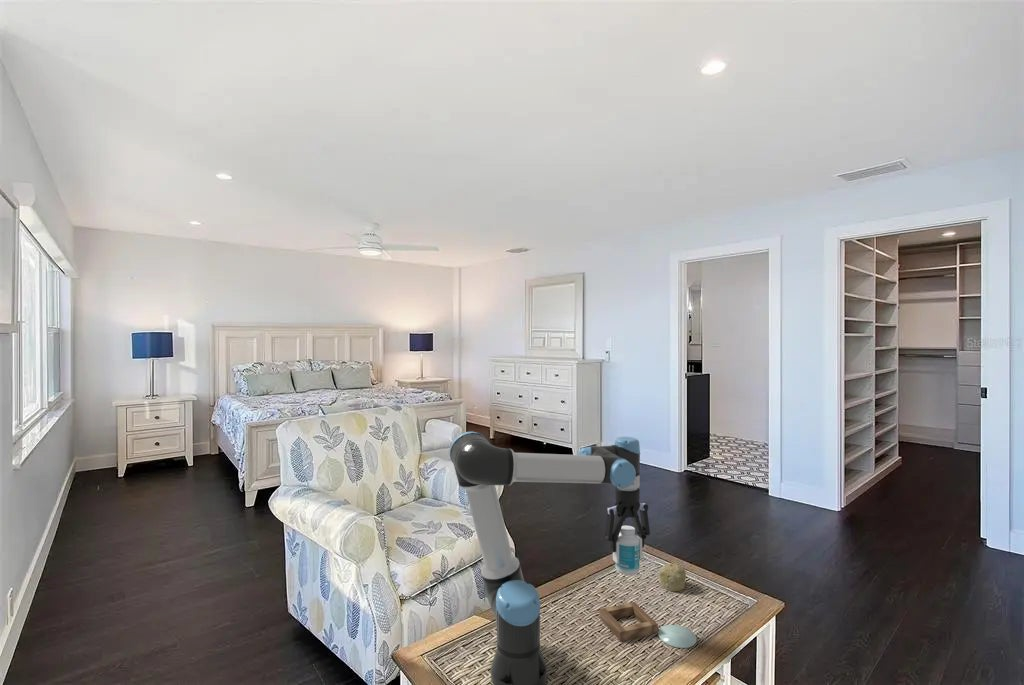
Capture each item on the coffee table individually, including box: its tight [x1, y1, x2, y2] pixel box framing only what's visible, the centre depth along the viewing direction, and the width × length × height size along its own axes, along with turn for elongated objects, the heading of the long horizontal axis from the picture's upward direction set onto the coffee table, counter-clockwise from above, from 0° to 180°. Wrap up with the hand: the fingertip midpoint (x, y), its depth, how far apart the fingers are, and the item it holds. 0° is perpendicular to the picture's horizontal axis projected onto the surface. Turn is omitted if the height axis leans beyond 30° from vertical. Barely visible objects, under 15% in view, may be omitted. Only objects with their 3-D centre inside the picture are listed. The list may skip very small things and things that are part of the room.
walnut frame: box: [598, 601, 659, 642], centre depth 158 cm, size 13×13×3 cm
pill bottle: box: [614, 525, 640, 576], centre depth 158 cm, size 8×7×14 cm
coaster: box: [657, 624, 697, 649], centre depth 152 cm, size 11×11×1 cm
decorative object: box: [658, 562, 687, 593], centre depth 182 cm, size 9×10×10 cm
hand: (627, 559), depth 158 cm, fingers closed on pill bottle, 7 cm apart
